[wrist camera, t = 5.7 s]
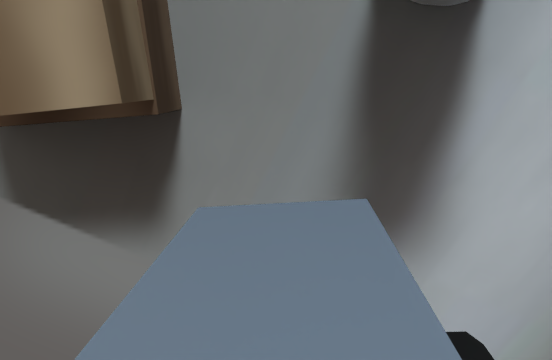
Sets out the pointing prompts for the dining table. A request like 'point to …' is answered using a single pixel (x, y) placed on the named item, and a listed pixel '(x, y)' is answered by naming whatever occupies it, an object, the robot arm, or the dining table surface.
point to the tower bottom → (160, 71)
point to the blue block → (276, 291)
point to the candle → (439, 2)
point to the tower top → (71, 55)
